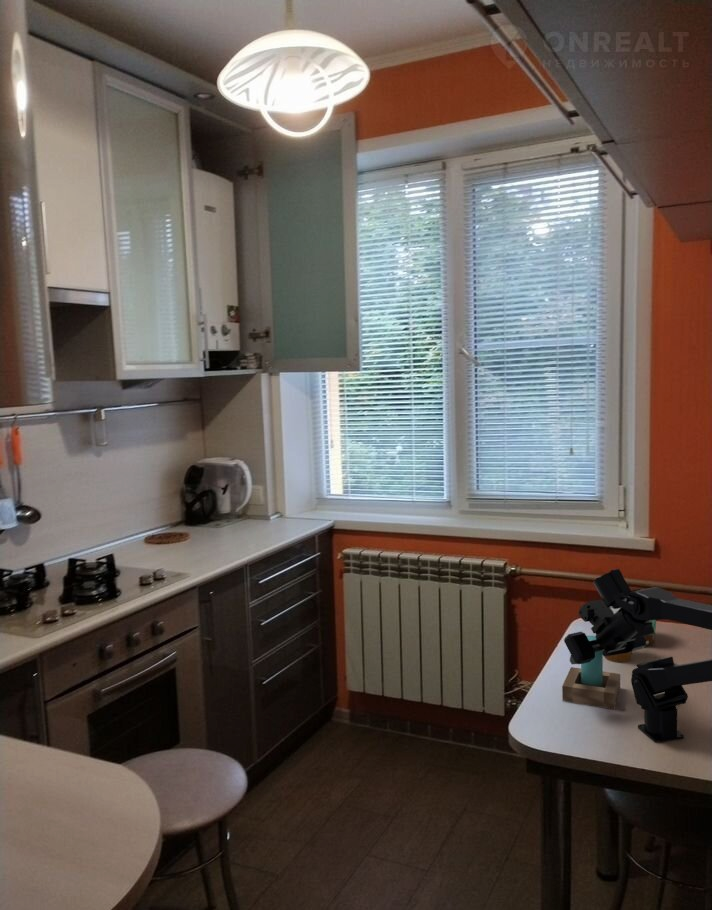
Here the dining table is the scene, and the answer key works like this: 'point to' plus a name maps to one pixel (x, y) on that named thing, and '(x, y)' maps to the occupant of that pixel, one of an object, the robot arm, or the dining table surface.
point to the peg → (593, 669)
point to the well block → (591, 690)
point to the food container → (651, 635)
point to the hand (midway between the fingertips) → (587, 658)
